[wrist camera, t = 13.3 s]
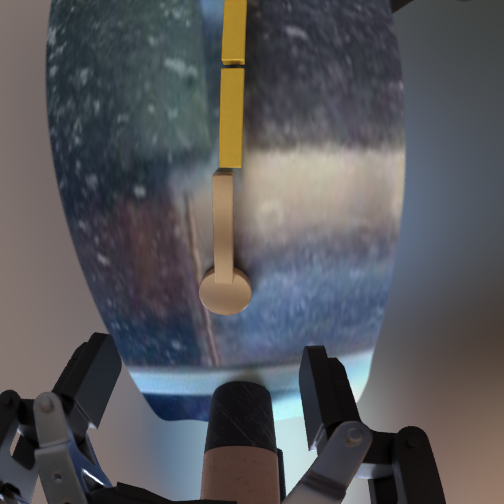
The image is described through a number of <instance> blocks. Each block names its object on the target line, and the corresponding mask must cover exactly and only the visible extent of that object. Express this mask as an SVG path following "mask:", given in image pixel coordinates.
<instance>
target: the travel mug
mask: <svg viewBox="0 0 504 504" xmlns="http://www.w3.org/2000/svg"><path fill="white" fill-rule="evenodd" d="M201 499H210V500H224V501H237V504H280V491H279V472H278V457H277V447H276V437H275V429H274V419H273V410H272V402H271V396H270V393H269V392H268V391H267V390H266V389H265V388H264V387H262V386H260V385H258V384H254V383H250V382H231V383H227V384H224V385H222V386H220V387H219V388H217V389H216V390H215V392H214V394H213V398H212V403H211V410H210V416H209V424H208V430H207V437H206V444H205V451H204V459H203V471H202V484H201V496H200V500H201Z"/></svg>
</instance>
